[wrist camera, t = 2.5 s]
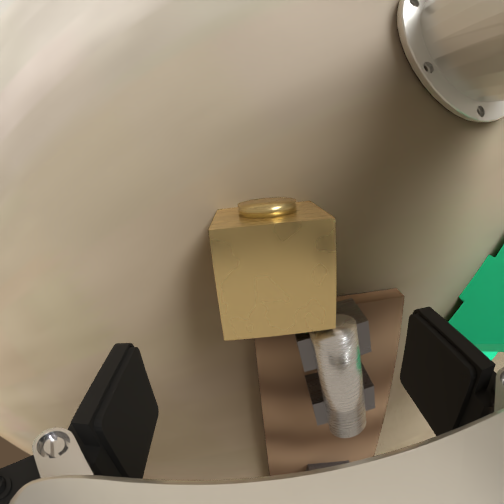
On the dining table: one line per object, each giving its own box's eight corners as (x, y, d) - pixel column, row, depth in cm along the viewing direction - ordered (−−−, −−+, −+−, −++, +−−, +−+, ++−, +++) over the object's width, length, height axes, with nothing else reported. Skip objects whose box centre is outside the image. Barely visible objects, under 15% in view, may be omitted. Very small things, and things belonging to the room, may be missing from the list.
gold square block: (216, 200, 20) (206, 217, 15) (309, 191, 20) (334, 205, 15) (229, 302, 23) (225, 349, 17) (313, 293, 23) (335, 337, 17)
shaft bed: (251, 306, 23) (251, 316, 21) (396, 288, 23) (404, 296, 21) (272, 492, 30) (272, 501, 29) (361, 477, 30) (364, 486, 29)
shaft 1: (288, 311, 21) (299, 351, 17) (351, 293, 21) (376, 327, 16) (311, 403, 24) (322, 445, 19) (362, 387, 23) (381, 427, 19)
